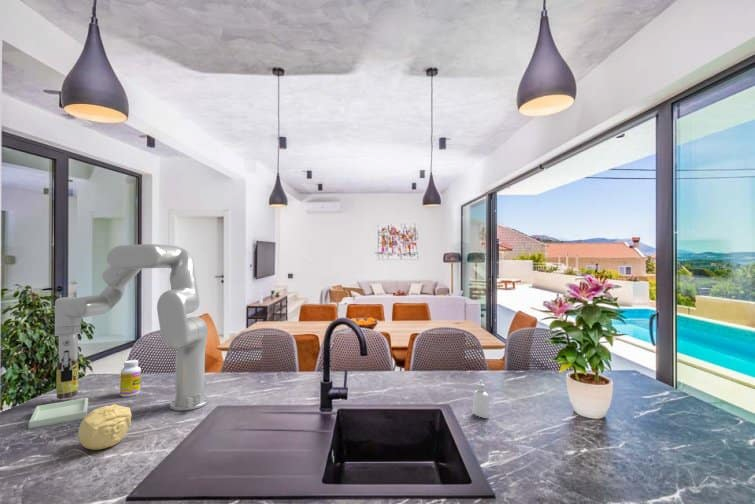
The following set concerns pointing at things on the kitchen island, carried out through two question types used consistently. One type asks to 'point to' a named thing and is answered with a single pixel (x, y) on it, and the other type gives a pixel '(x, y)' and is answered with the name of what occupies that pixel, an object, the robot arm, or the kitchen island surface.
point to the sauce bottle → (68, 387)
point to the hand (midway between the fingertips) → (67, 378)
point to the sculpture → (104, 427)
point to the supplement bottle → (130, 379)
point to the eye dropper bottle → (481, 401)
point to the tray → (59, 413)
